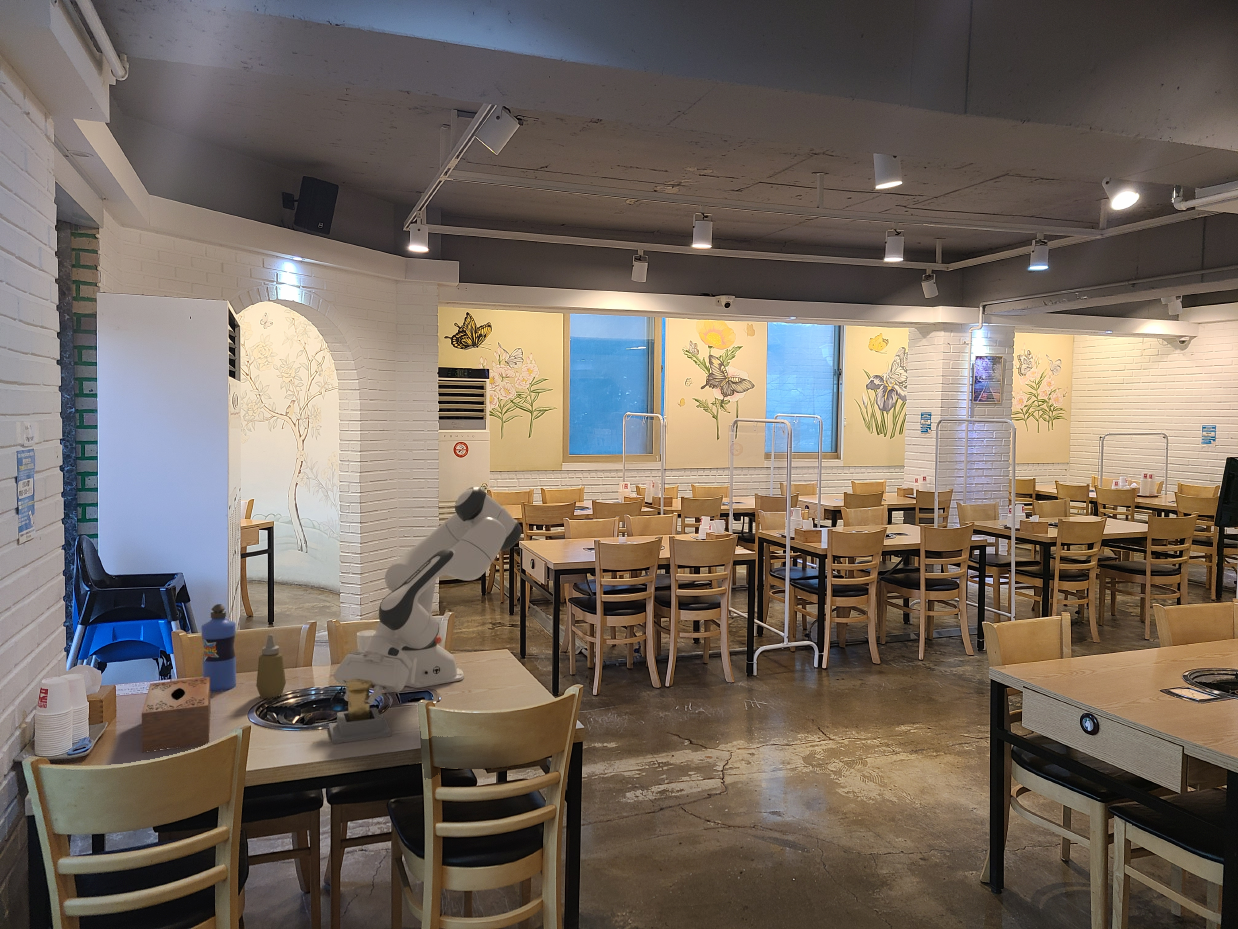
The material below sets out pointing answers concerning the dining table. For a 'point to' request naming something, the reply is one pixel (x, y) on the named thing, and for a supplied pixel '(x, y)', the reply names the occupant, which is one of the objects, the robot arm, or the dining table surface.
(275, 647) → the squeeze bottle
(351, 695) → the gold stepped cylinder
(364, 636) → the white cup
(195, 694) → the tissue box cover
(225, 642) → the water bottle
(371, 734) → the socket block
